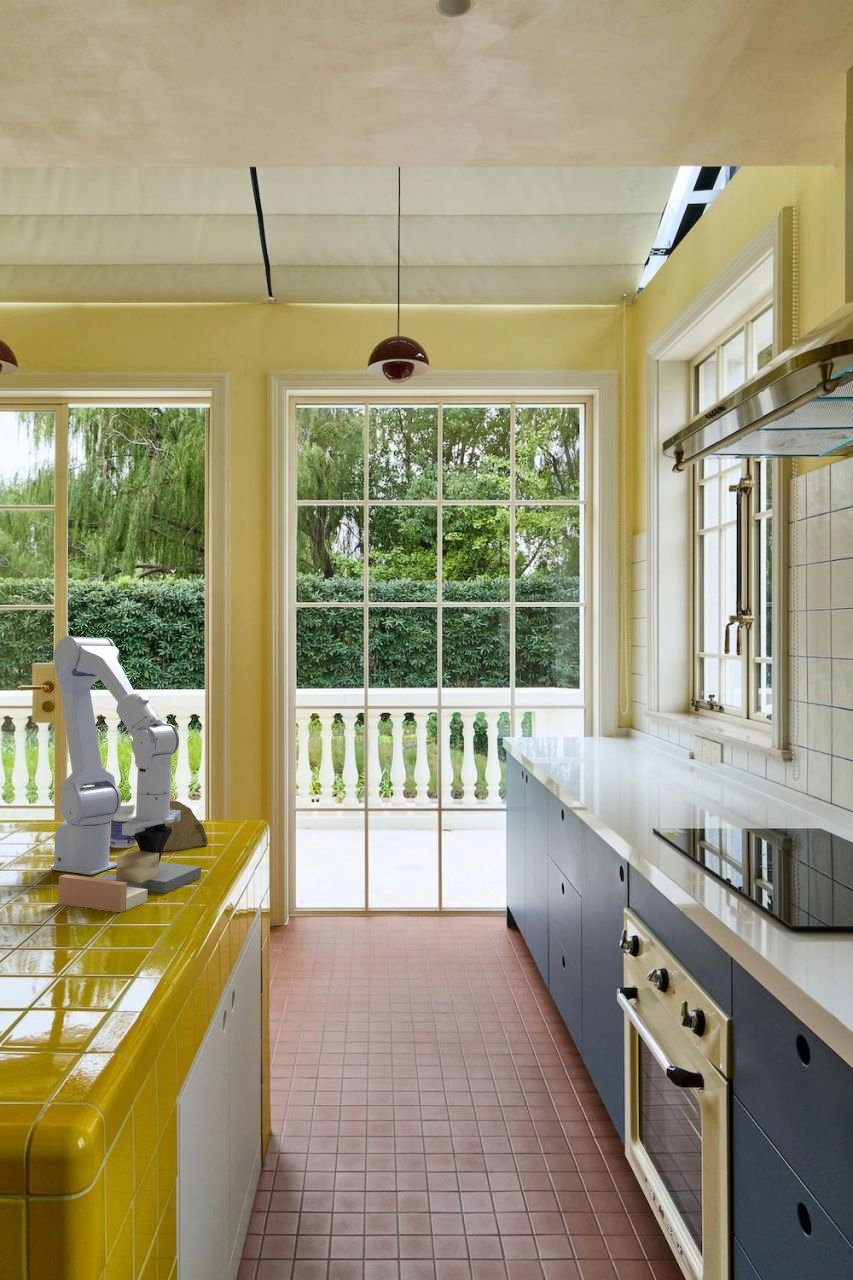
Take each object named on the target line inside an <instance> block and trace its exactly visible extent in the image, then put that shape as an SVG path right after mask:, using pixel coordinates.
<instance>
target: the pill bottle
mask: <svg viewBox="0 0 853 1280" xmlns="http://www.w3.org/2000/svg"><path fill="white" fill-rule="evenodd" d="M135 810H136V805H135V803H134V802H121V806H120V809H119V811H118V812H117V813H116V814H115V815H114V820H111V822H110V848H113V849H129V848H130V849H131V848H134V847H135V846H137V842H136V840H135V838H134V837H133V836H129V835H122V824H123V823H126V822H128V821H130V820H131V819H133V818H134V817H136V813H135V812H134V811H135Z"/></svg>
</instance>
